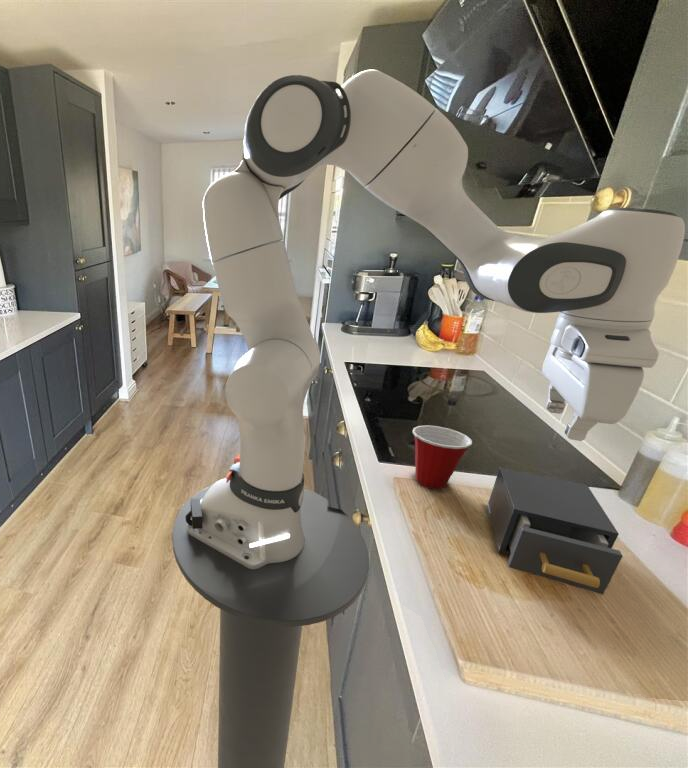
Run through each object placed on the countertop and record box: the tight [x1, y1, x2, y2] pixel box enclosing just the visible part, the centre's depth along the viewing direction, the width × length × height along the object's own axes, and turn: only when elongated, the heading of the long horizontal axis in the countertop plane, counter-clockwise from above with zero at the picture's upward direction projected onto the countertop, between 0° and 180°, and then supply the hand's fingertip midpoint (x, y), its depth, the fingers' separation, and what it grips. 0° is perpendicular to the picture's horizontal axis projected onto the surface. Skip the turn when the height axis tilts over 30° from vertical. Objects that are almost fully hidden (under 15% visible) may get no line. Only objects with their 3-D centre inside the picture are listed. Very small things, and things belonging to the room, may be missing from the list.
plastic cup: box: [412, 424, 473, 490], centre depth 87 cm, size 11×11×12 cm
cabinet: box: [486, 467, 619, 557], centre depth 70 cm, size 14×13×10 cm
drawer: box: [507, 514, 624, 596], centre depth 65 cm, size 16×11×8 cm
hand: (562, 423), depth 60 cm, fingers open, 8 cm apart
